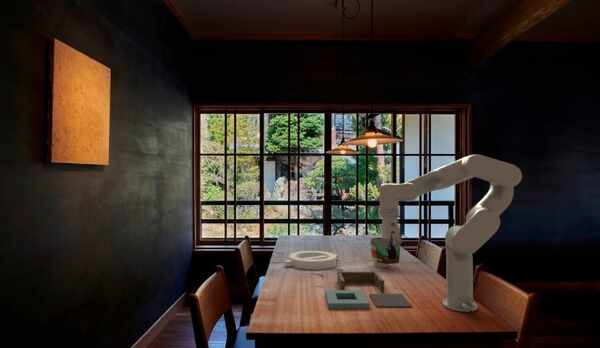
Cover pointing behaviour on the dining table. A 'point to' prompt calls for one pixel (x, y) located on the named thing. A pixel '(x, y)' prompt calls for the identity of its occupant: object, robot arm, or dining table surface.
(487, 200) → the robot arm
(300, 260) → the ring with crossbar
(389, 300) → the charcoal mat
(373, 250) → the reusable coffee cup
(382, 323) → the dining table surface
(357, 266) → the dining table surface
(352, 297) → the hole plate
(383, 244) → the food container
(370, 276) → the walnut cubby
